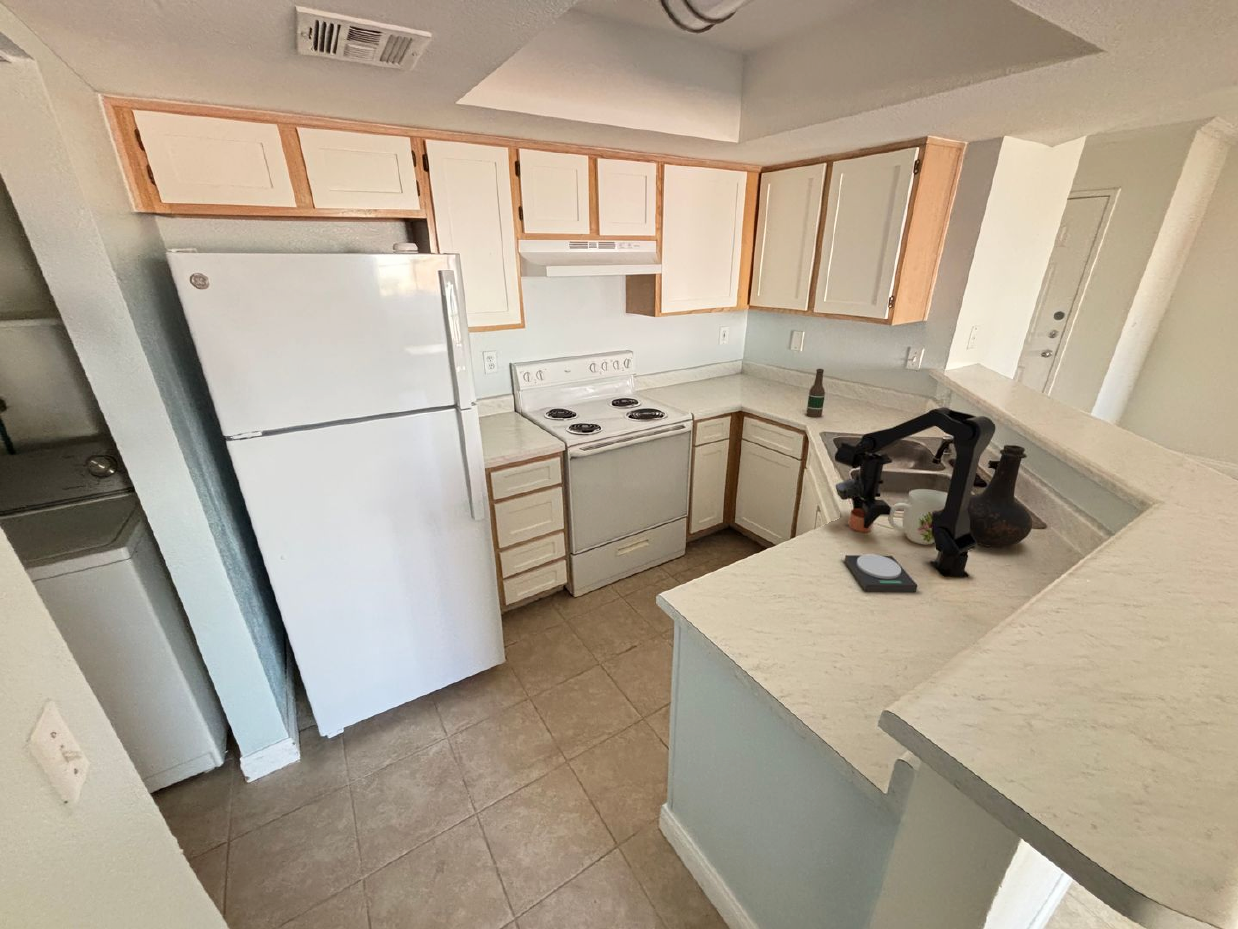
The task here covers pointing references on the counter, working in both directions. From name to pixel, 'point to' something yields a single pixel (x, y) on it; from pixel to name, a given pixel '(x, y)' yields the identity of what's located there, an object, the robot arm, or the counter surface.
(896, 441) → the robot arm
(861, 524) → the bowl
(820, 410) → the beer bottle
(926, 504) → the pitcher
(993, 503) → the dark brown vase
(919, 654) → the counter surface
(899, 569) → the scale
